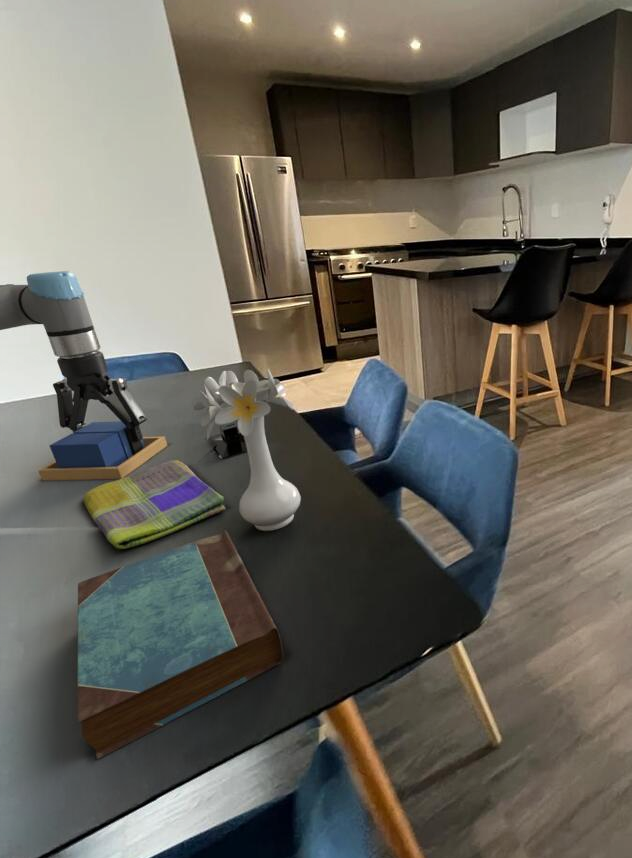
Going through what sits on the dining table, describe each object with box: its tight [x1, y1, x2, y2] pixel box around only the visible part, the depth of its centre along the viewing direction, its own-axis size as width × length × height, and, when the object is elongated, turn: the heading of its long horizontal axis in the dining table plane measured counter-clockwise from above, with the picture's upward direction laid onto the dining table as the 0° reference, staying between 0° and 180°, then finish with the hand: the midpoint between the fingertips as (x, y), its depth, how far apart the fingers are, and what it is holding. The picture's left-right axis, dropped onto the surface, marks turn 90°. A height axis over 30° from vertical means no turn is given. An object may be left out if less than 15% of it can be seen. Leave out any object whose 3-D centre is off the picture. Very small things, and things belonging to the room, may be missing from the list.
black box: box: [213, 421, 248, 460], centre depth 108 cm, size 12×7×5 cm, turn 36°
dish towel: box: [82, 459, 227, 550], centre depth 85 cm, size 18×24×3 cm
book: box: [76, 530, 284, 760], centre depth 56 cm, size 23×18×5 cm
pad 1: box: [48, 432, 127, 468], centre depth 98 cm, size 10×6×7 cm, turn 86°
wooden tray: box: [38, 436, 168, 482], centre depth 103 cm, size 17×15×3 cm
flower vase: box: [193, 368, 302, 532], centre depth 75 cm, size 13×18×25 cm
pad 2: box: [72, 420, 145, 460], centre depth 104 cm, size 10×6×7 cm, turn 86°
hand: (115, 455), depth 105 cm, fingers closed on pad 2, 10 cm apart
